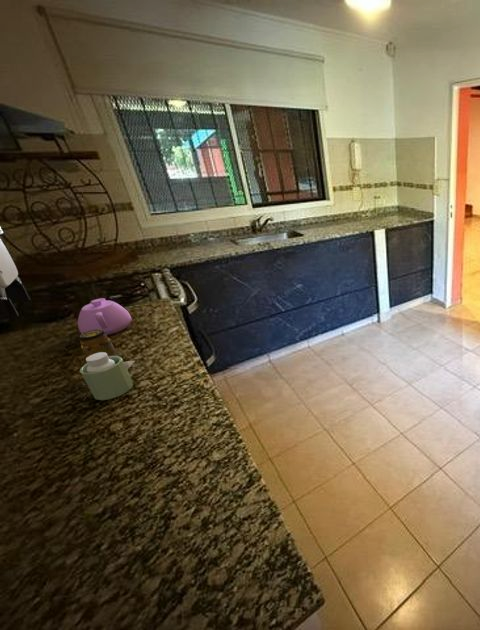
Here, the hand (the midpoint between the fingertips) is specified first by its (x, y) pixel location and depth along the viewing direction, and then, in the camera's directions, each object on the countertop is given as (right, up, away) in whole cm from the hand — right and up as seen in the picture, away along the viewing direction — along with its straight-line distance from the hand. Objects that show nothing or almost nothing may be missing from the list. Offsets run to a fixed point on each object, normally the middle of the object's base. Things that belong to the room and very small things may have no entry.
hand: (14, 310), depth 72 cm
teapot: (-23, -6, +48) cm, 53 cm away
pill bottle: (+6, -20, +17) cm, 27 cm away
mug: (+6, -21, +17) cm, 27 cm away
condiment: (-2, -17, +25) cm, 30 cm away
